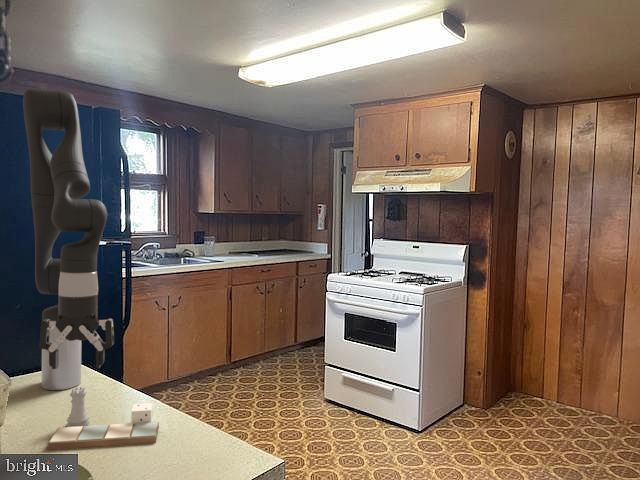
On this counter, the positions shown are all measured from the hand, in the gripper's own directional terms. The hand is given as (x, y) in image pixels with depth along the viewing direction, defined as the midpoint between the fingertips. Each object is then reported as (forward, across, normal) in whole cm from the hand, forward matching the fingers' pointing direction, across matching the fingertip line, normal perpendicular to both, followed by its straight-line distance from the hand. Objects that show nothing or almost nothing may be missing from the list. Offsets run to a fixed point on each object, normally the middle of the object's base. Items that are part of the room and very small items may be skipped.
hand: (77, 367), depth 105 cm
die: (+13, +14, -1) cm, 19 cm away
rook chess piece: (+13, 0, 0) cm, 13 cm away
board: (+13, +7, -6) cm, 16 cm away
